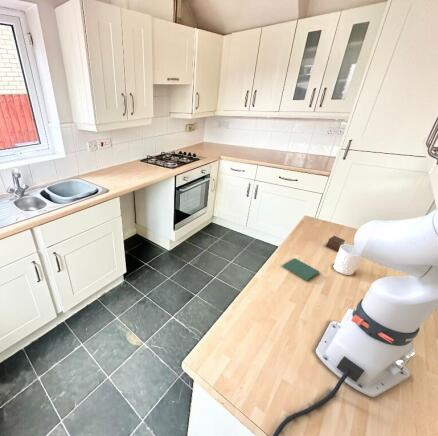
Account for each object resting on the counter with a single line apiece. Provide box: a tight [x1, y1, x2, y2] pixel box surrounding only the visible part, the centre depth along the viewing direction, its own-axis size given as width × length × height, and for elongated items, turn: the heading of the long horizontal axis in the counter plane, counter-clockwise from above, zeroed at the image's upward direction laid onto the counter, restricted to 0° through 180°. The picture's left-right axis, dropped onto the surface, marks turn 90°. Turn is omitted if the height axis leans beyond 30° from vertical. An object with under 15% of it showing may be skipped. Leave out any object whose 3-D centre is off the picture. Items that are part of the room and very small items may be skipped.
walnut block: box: [325, 235, 346, 252], centre depth 111 cm, size 4×4×4 cm
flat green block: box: [282, 258, 320, 282], centre depth 99 cm, size 8×10×1 cm
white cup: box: [333, 243, 365, 276], centre depth 97 cm, size 8×8×10 cm
